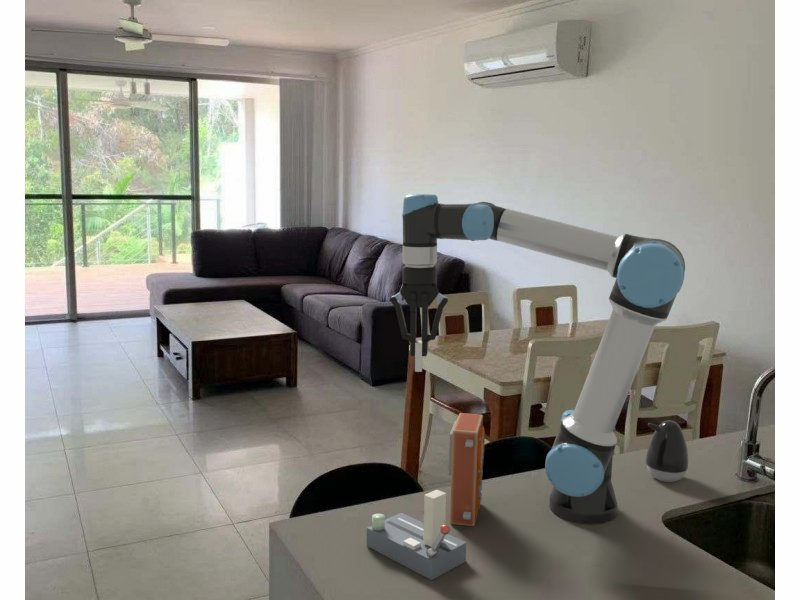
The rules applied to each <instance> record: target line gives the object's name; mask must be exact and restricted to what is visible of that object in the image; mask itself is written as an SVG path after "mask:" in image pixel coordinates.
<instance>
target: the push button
mask: <svg viewBox="0 0 800 600" xmlns="http://www.w3.org/2000/svg"><path fill="white" fill-rule="evenodd" d="M385 519H386V516H385V514H383V513H374V514H372V515H371V526H372V529H374V530H377V531H379V530H383V529H384V528H385Z"/></svg>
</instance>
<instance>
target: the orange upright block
mask: <svg viewBox="0 0 800 600" xmlns="http://www.w3.org/2000/svg"><path fill="white" fill-rule="evenodd" d="M483 421H484V415H483V414H479V413H475V414H474V413H468V412H467V413H463V412H460V413H458V417H457V420H454V422H453V426H452V427H451V430H450V432H449V435H448V436H449V443H448V445H449V447H448V448H449V449H448V451H449V452H448V471H447V474H448V476H450V477H451V479H450V506H449V507H450V509H449V514H450V515H449V523H450V525H458V526H467V527H475V524H476V521H477V517H478V512H479V509H480V508H481V503H482V499H483V498H482V497H483V495H482V489H483V472H484V471H483V467H484V457H485V444H486V443H485V440H486V439H485V438H486V436H485V435H486V433H485V432H486V431H485V427H484V425H483Z"/></svg>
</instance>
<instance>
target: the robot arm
mask: <svg viewBox="0 0 800 600" xmlns="http://www.w3.org/2000/svg"><path fill="white" fill-rule="evenodd" d="M401 216H402V264H403V266H402V269H401V271H402V281H401V282H402V285H401V288H400V290H399V292H397V293H396V294H395V295H392V296H391V297H390V303H391V304H392V305H393V307H394V308H395V313H396V316H397V317H396V318H397V322H398V327H399V331H400V334H401V338H402V339H403V340H406V341H408V342H409V355H410V356H411V357H414V372H417V373H419V372H420V373H421V372H422V373H423V357H427V356H428V351H429V350H428V342H430V341H434V340H435V339H436V336H437V333H438V330H439V325H440V322H441V317H442V314H443V310H444V308H445V307H446V305H447V303H448V302H449V297H448V296H446V295H443V294H442V293H440V291H439V288H438V284H437V279H438V277H437V275H438V272H437V270H438V268H437V267H436V264H437V263H438V258H437V257H438V240H459V241H460V240H461V241H471V242H475V241H487V240H493V241H497V242H502V243H505V244H509V245H512V246H515V247H519V248H523V249H527V250H530V251H534V252H538V253H541V254H545V255H548V256H552V257H555V258H556V257H557V258H560V259H563V260H567V261H571V262H575V263H578V264H582V265H586V266H589V267H593V268H597V269H600V270H604V271H607V272H608V273H609V274H610V276H611V278H614V279H615V280H614V283H613V286H612V289H611V292H610V293H609V297H608V301H609V303H610V305H611V306H612V310H611V311H612V312H611V314H610V317H609V318H608V322H607V323H606V327H605V329H604V332H603V334H602V336H601V340H600V343H599V345H598V347H597V350H596V353H595V356H594V359H593V361H592V364H591V366H590V369H589V371H588V374H587V376H586V379H585V382H584V384H583V387H582V390H581V392H580V394H579V397H578V400H577V403H576V406H575V408H574V409H569V410H565V411H564V412H563V413H562V415H561V419H560V426H559V427H558V428H559V429H558V432H557V435H556V436H555V439H554V442H553V445H552V447H551V449H550V450H549V451H548V453H547V454H546V458H545V464H544V465H545V466H544V469H545V474H546V477H547V479H548V481H549V483H550V484H551V485H552V486H553V488H552V490H551V493H550V494H549V495H550V496H549V505H548V506H549V510H551V512H552V513H553V514H554V515H556V516H558V517H560V518H561V519H564V520H566V521H570V522H574V523H578V524H579V523H580V524H589V525H595V524H597V525H598V524H605V523H608V522H611V521H613V520H614V519H615V518H616V517H617V516H618V515H617V514H618V501H617V497H616V494H615V490H614V486H613V482H612V473H613V459H614V458H613V457H614V455H613V454H614V450H615V449H616V446H617V444H618V439H617V436H616V434H615V431H616V425H617V422H618V420H619V417H620V414H621V412H622V410H623V407H624V406H625V405H624V404H625V402H626V400H627V397H628V395H629V393H630V390H631V387H632V385H633V382H634V381H635V378H636V375H637V372H638V370H639V368H640V365H641V363H642V360H643V358H644V355H645V353H646V350H647V347H648V345H649V342H650V340H651V337H652V335H653V333H654V330H655V327H656V325H657V324H660V323H662V322H665V321H666V320H667V319H668V317H669V315H670V312H671V310H672V307H673V305H674V303H675V300H676V298H677V294H678V293H679V292H680V291H681V289H682V287H683V284H684V280H685V271H686V263H685V259H684V256H683V253H682V251H680V249H679V248H678V247H677V245H674V244H673V243H672V242H670V241H667V240H664V239H660V238H653V237H652V238H649V237H644V236H636V235H633V234H629V233H623V234H621V235H619V236H616V235H613V234H610V233H609V234H608V233H604V232H601V231H597V230H593V229H588V228H584V227H580V226H577V225H573V224H569V223H565V222H561V221H557V220H553V219H550V218H545V217H541V216H538V215H534V214H529V213H525V212H521V211H519V210H518V211H517V210H513V209H510V208H504V207H501V206H497V205H495V203H494V204H493V203H491V202H488V201H480V202H474V203H455V204H454V203H453V204H452V203H448V204H447V203H446V204H445V203H440V202H439V199H438V196H437V195H436V194H426V193H424V194H421V193H420V194H419V193H417V194H415V193H413V194H412V193H411V194H407V195H405V196H404V198H403V206H402V215H401ZM402 298H403V299H404V302H405V303H407V306H409V311H410V312H409V313H410V316H409V317H410V318H409V320H410V321H409V324H410V325H409V327H410V328H409V331H410V332H408V329H407V323H406V320H405V316H404V315H405V314H404V311H403V306H402V304H401V303H402V302H403V299H402ZM436 299H437V300H436ZM435 300H436V304H437V308H436V312H435V316H434V318H433V319H434V320H433V323H432V327H431V331H430V333H428V332H429V308H430V306H431V305H432V303H433V302H434V301H435ZM418 308H421V340H420V339H419V340H417V309H418Z"/></svg>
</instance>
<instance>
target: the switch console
mask: <svg viewBox="0 0 800 600" xmlns="http://www.w3.org/2000/svg"><path fill="white" fill-rule="evenodd" d="M423 532H424V521H421V520H418V519H416V518H414V517H413V516H409V515H408V514H405V513H403V512H399V513H397V514H395V515H392V516H390V517H389V518H385V528H384V529H383V530H379V531H377V530H374V529H372V525H370V526H367V527H366V547H367V548H369V549H371V548H372V550H373V549H374V551H375V552H377V553H379V554H381V555H383V556H385V557H387V558H389V559H391V560H393V561H395V562H396V563H398V564H401V566H404V567H406V568H408V569H410V570H411V571H414V572H415V573H417V574H419V575H421V576H423V577H424V578H427V579H429V580H431V581H432V580H435V579H437V578H438V577H441V576H442V575H444V574H446V573H447V572H450V571H452V570H453V569H455V568H456V567H458V566H461V565H462V564H463V563H465V562H467V542H466V541H465V540H462V539H460V538H457V537H455V536H453V535H451V534H449V533H448V534H446V535H445V541H444V542H442V543H441V544H440V546H439V548H438V550H439V553H438V554H436V555H434V556H432V557H428V556H427V554H426V551H427V550H428V549H430V548H431V547H430V546H428V545H426V544H424V543H423Z"/></svg>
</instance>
